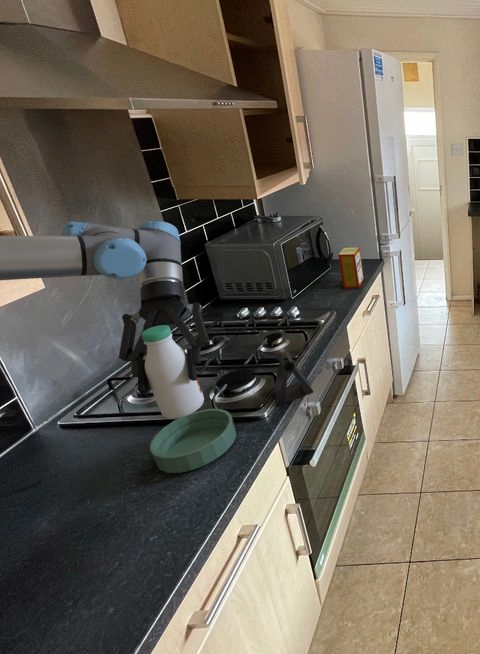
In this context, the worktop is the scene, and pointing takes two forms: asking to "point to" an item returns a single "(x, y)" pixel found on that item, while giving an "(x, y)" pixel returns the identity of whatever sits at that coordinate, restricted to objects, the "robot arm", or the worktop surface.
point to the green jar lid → (193, 440)
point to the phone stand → (280, 389)
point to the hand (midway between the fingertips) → (168, 384)
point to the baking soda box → (351, 267)
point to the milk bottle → (170, 374)
